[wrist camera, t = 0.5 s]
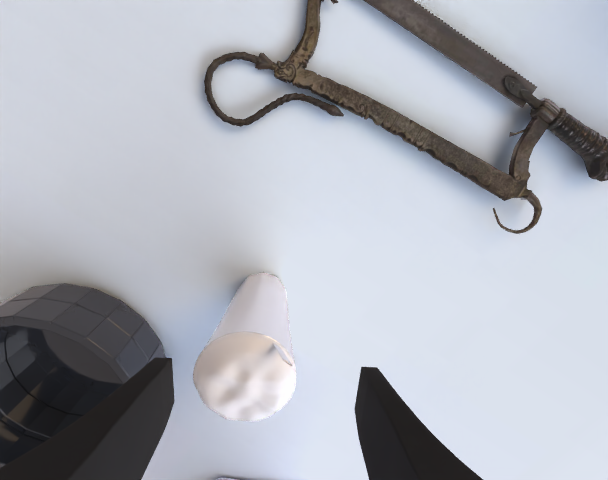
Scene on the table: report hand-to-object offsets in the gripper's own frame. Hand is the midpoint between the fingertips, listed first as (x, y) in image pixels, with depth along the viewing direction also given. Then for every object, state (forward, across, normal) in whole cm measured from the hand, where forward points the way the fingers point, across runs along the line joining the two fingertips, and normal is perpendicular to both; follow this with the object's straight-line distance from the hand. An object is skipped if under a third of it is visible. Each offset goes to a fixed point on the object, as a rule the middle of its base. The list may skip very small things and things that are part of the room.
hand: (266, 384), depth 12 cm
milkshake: (+10, +1, +1) cm, 10 cm away
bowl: (+10, +14, +7) cm, 19 cm away
